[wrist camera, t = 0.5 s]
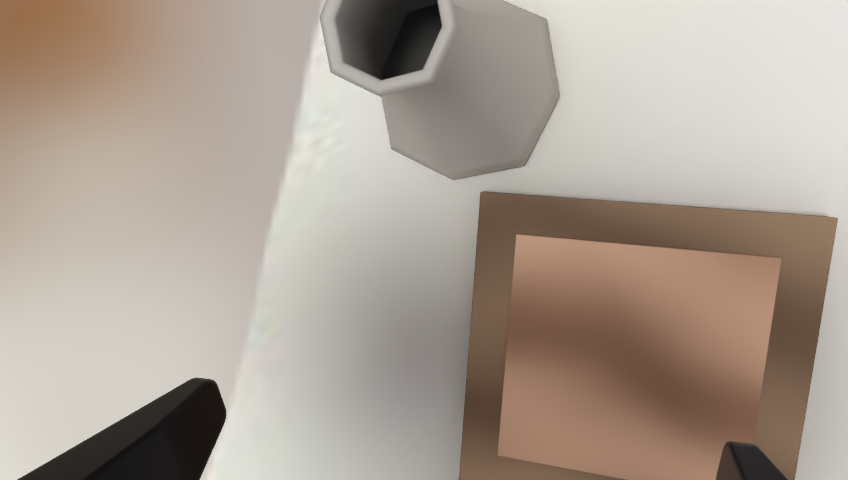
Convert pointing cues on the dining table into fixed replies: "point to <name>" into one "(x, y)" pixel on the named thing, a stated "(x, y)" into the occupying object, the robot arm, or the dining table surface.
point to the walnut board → (638, 337)
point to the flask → (449, 77)
